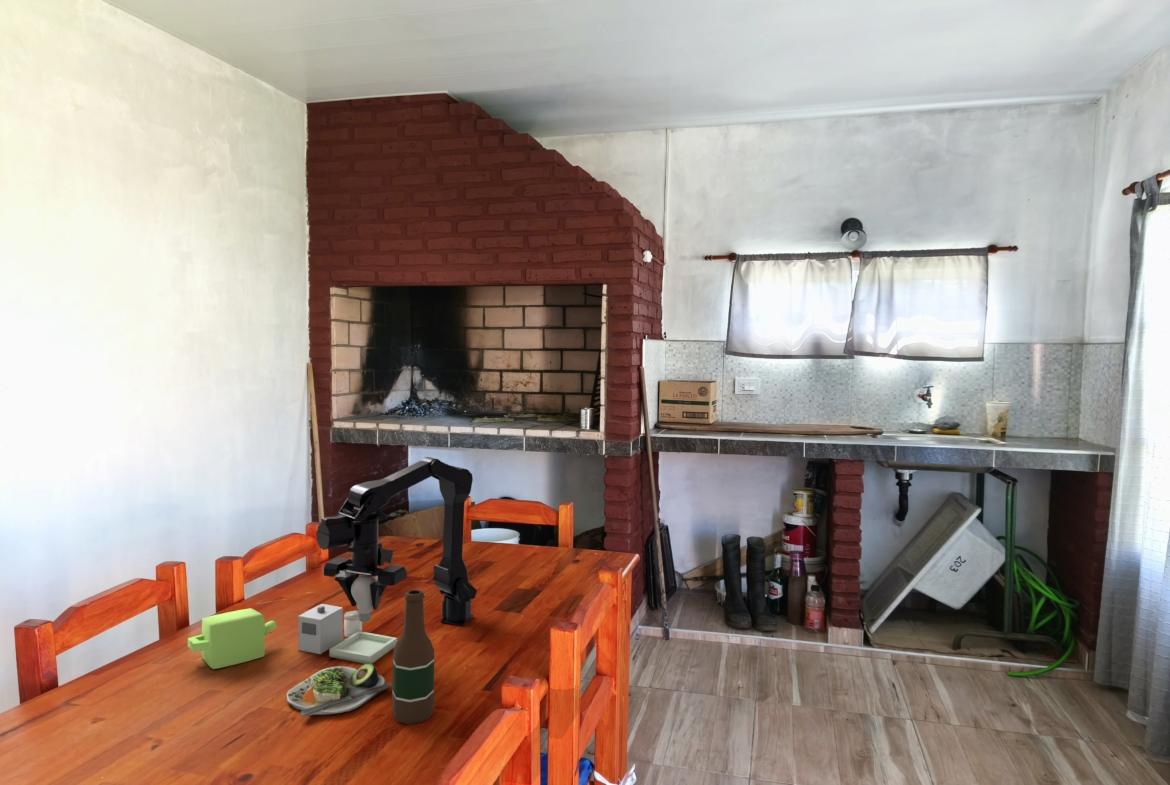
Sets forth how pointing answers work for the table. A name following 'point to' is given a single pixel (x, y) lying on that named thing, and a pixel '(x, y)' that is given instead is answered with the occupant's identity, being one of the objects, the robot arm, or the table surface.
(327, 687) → the salad plate
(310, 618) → the box
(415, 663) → the beer bottle
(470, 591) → the robot arm
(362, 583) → the lightbulb
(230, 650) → the gearbox
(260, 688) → the table surface
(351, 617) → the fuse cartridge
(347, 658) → the tray
